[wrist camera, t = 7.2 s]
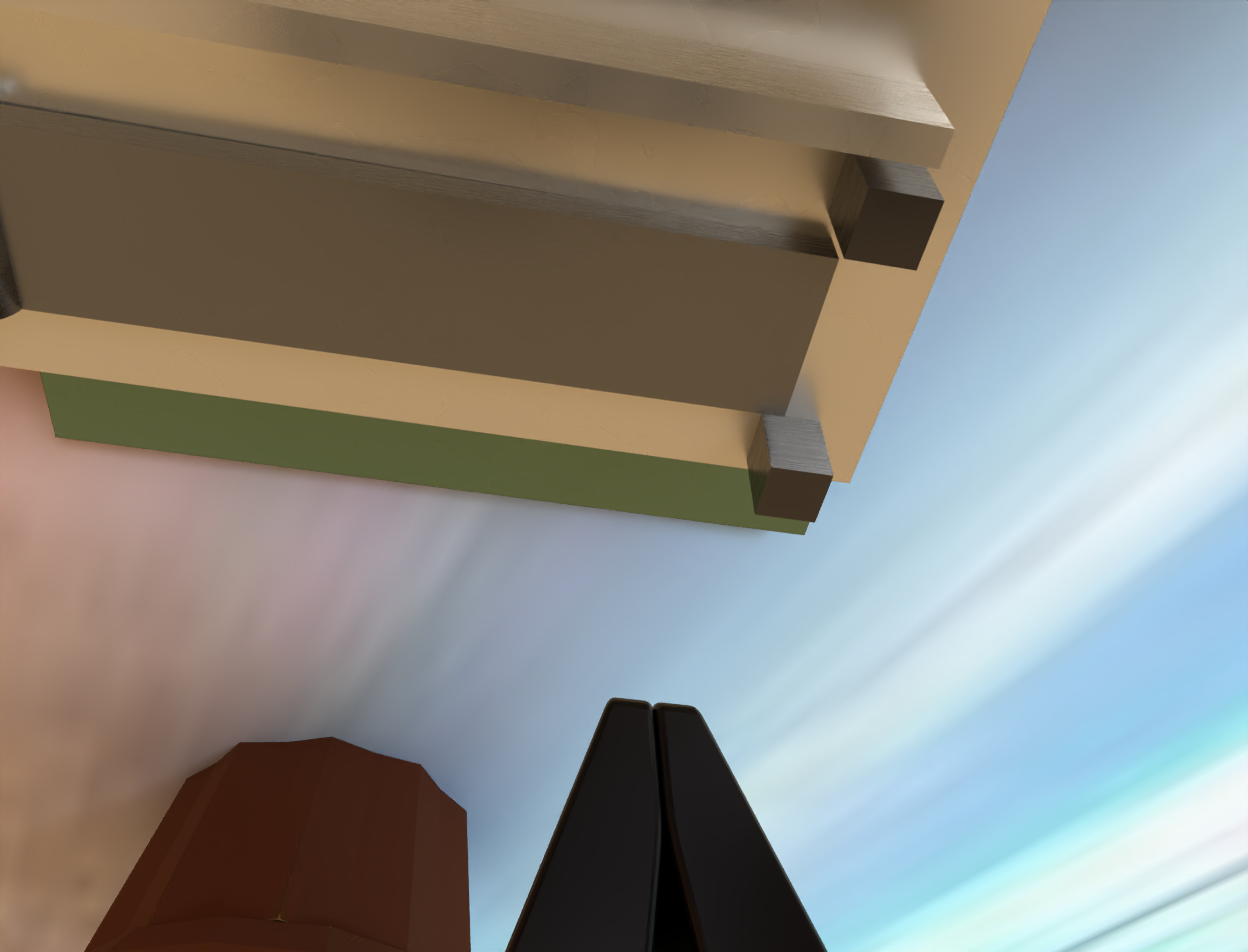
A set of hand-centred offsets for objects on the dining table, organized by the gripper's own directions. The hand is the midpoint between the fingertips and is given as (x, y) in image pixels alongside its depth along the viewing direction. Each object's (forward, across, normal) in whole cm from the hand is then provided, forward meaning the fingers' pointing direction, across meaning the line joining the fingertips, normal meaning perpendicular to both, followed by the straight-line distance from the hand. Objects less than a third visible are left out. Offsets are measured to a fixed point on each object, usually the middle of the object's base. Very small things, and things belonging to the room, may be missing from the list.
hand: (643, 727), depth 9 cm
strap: (+8, +4, 0) cm, 9 cm away
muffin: (+12, +6, +22) cm, 26 cm away
